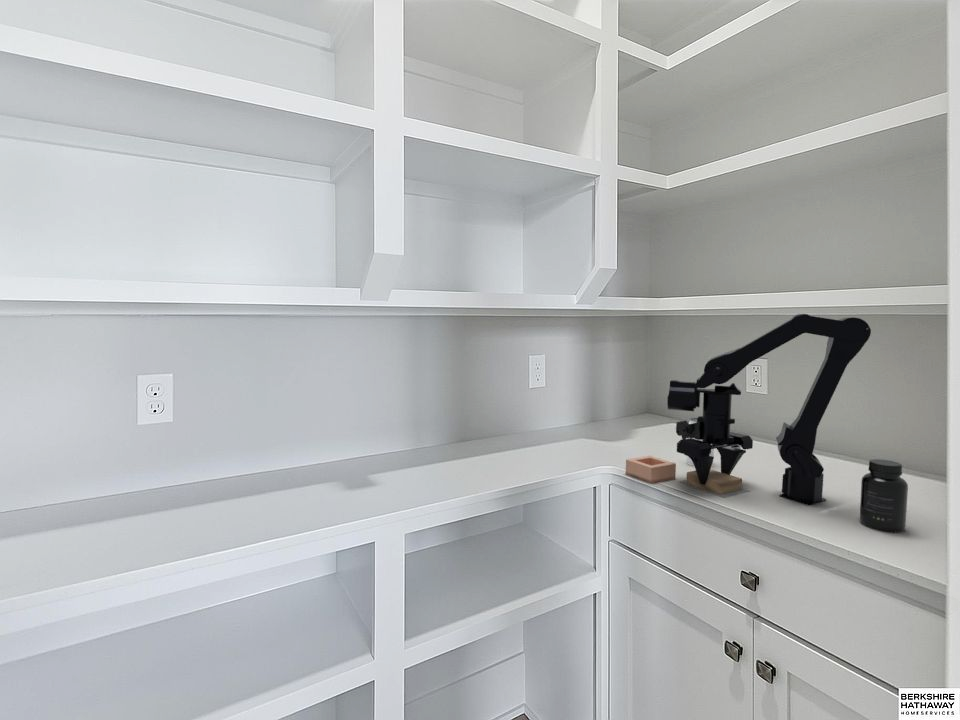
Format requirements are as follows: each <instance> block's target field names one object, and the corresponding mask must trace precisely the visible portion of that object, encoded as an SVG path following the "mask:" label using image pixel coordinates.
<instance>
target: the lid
mask: <svg viewBox="0 0 960 720" xmlns="http://www.w3.org/2000/svg"><path fill="white" fill-rule="evenodd" d="M685 478H686V479H685V480H686V483H688V484H691V485H694V486H697V487H700V488H703V489H706V490H708V491H711V492H714V493H717V494H720V495H721V494H726V493H730V492H734V491H738V490H742V487H743V478H742V477H741V478H740V477H737V476H734V475H731V474H730V475H728V474H725V473H721V471H717V470H714V469H710V472H709V475H708V479H707V481H706V484H705V485H703V484H700V482H699V479H698V475H697V472H696V470H692V471H691V470H690V471H687V472H686V477H685Z"/></svg>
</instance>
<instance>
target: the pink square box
mask: <svg viewBox="0 0 960 720" xmlns="http://www.w3.org/2000/svg"><path fill="white" fill-rule="evenodd" d="M676 464H677V463H675V462H674V461H669V460H667V459H662V458H660V457H656V456H652V455H645V456H640V457H633V458H627V459H625V475H626V476H629V477H632V478H634V479H637V480H640V481H642V482H645V483H648V484H651V485H652V484H656V483H661V482H666V481H670V480H676V475H677V472H676V471H677V465H676Z"/></svg>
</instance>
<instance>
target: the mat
mask: <svg viewBox="0 0 960 720" xmlns="http://www.w3.org/2000/svg"><path fill="white" fill-rule="evenodd" d="M678 483H679V484H683V485H686V486H689V487H690V488H691V487H692V488H695V489H698V490H700V491H703V492H706V493H708V494H711V495H715V496H718V497H721V498H724V499H725V498H727V497H732V496H733V497H734V496H736V495H742V494H745V493H749V492H751V490H749V489H745V488H742V490H738V491H734V492H730V493H726V494H721V495H720V494H717V493H714V492H711V491H708V490H706V489H703V488H700V487H697V486H694V485H691V484H688V483H686V479H685V480H680V481H678Z"/></svg>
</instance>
